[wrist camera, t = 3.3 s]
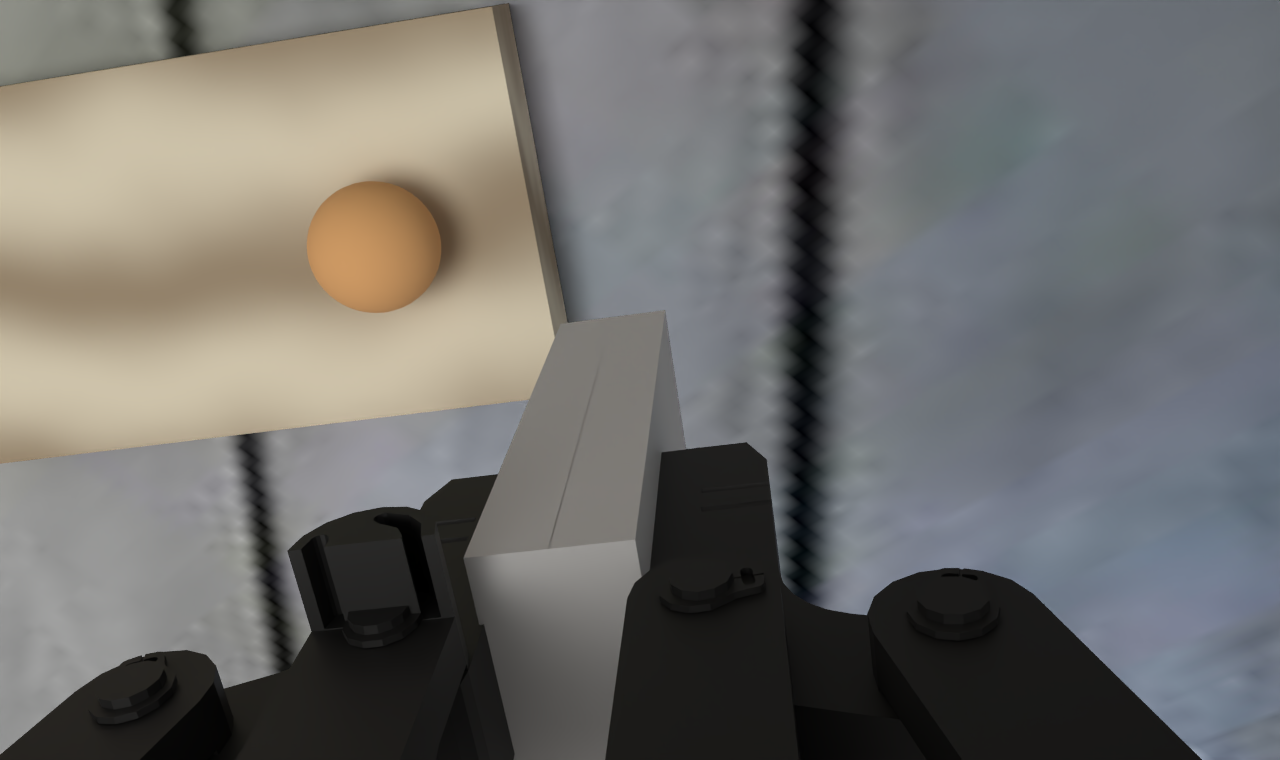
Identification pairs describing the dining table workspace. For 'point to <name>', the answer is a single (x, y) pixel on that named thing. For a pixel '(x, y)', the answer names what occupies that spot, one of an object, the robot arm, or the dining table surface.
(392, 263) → the ball
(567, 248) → the dining table surface
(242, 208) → the board
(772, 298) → the dining table surface
